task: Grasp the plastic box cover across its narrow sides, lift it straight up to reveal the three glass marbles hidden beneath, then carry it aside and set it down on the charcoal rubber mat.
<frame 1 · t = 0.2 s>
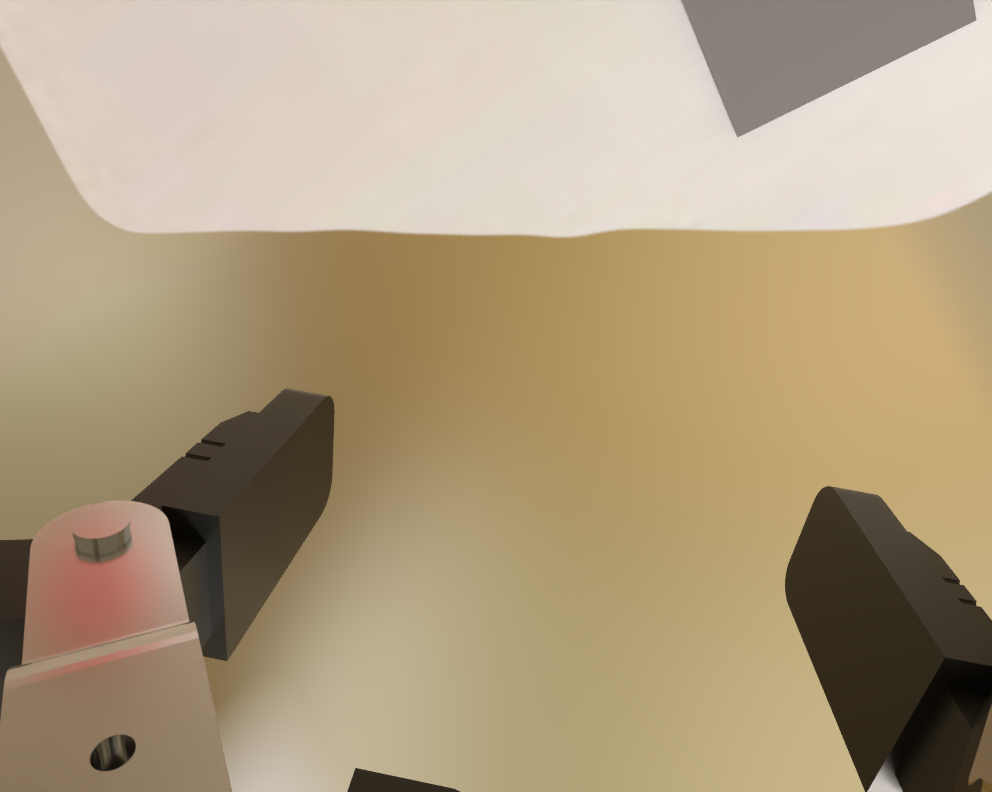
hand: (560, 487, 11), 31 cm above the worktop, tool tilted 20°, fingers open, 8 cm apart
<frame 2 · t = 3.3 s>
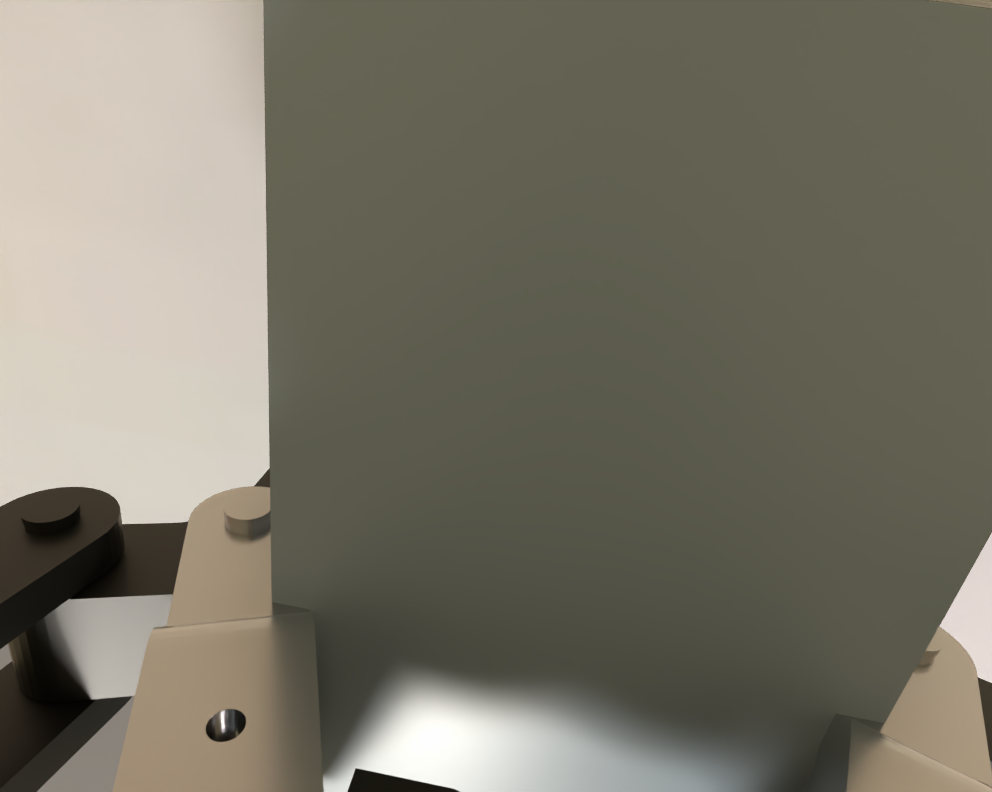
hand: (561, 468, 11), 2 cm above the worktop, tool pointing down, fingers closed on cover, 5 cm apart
cover: (565, 428, 13), on the worktop, touching gripper
mat: (174, 770, 19), on the worktop
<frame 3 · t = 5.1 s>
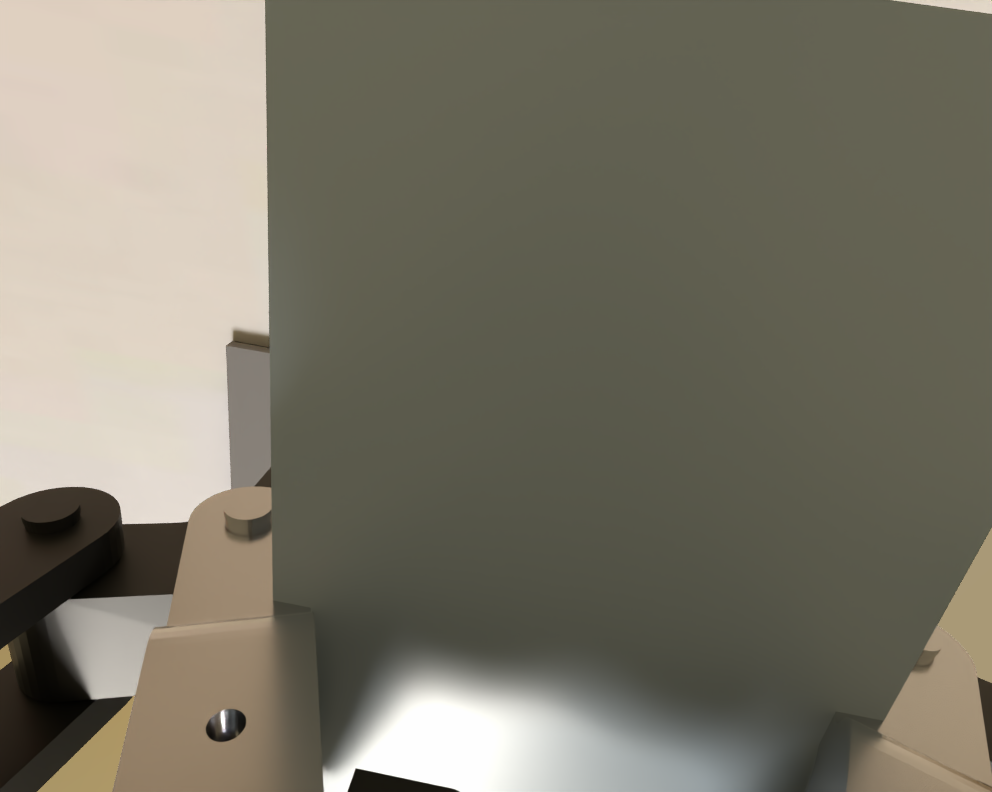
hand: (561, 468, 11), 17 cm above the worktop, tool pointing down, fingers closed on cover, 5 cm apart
cover: (565, 428, 13), point 15 cm above the worktop, touching gripper
mat: (343, 491, 32), on the worktop
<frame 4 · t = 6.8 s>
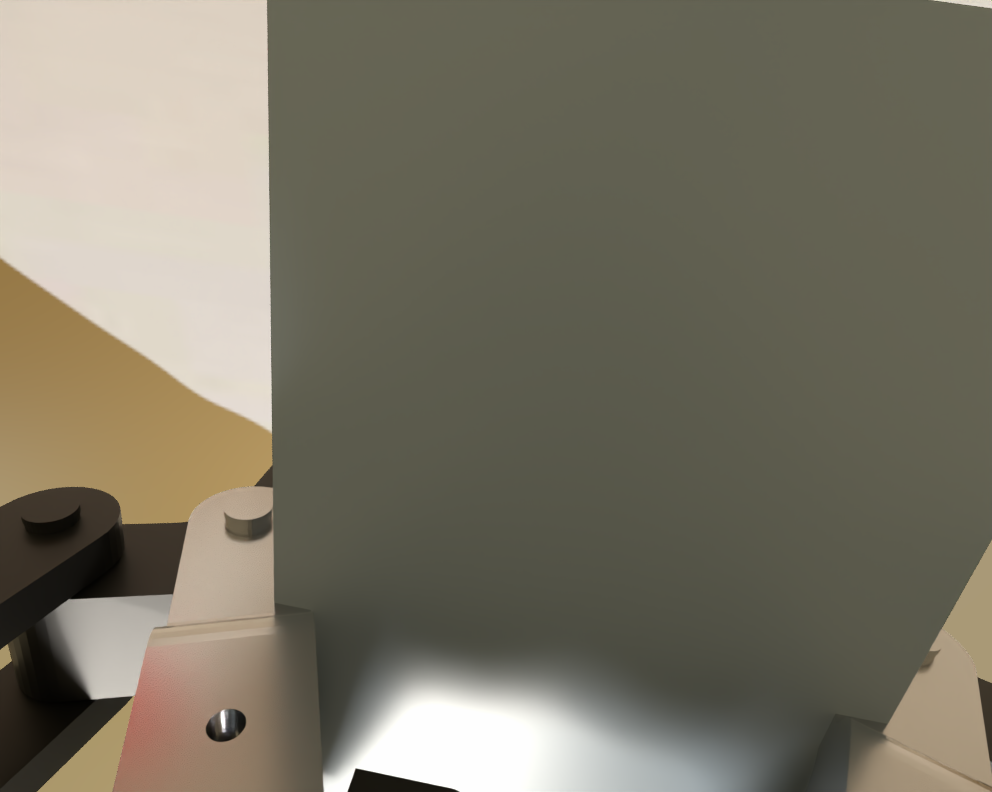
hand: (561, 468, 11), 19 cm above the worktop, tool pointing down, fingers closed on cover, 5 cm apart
cover: (567, 428, 13), point 17 cm above the worktop, touching gripper
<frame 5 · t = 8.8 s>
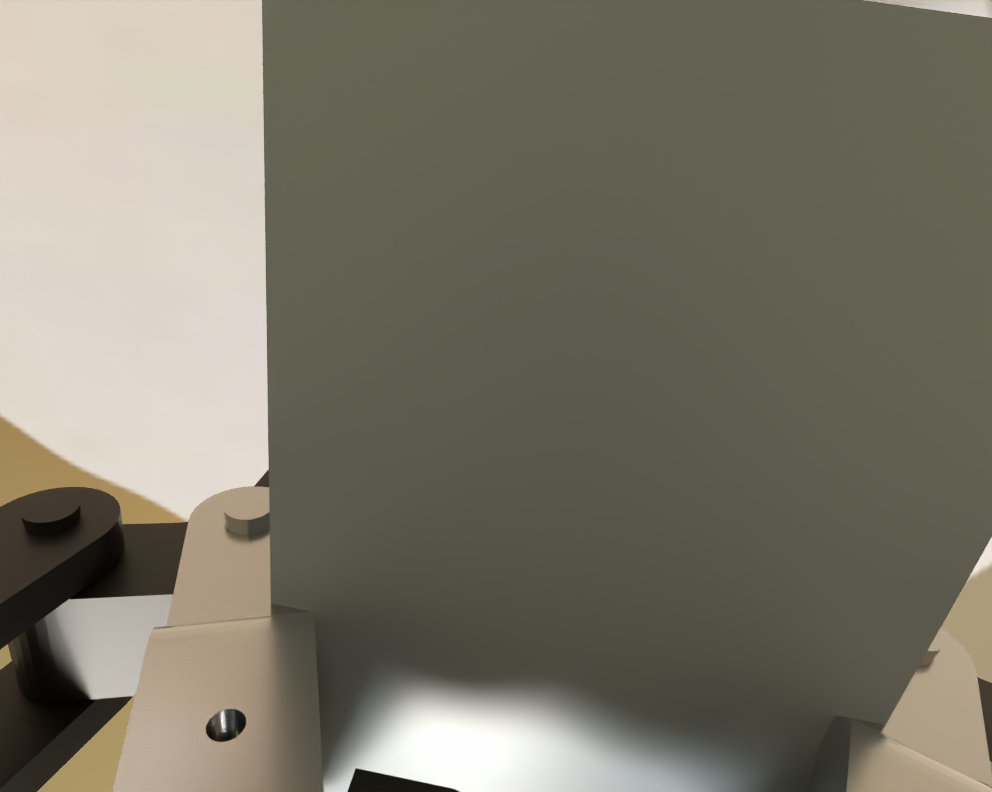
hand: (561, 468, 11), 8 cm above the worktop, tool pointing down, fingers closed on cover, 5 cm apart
cover: (565, 431, 13), point 7 cm above the worktop, touching gripper
when the fingers open (4 cm above the worktop, at t = 10.3 s): cover drops 1 cm, resting on mat.
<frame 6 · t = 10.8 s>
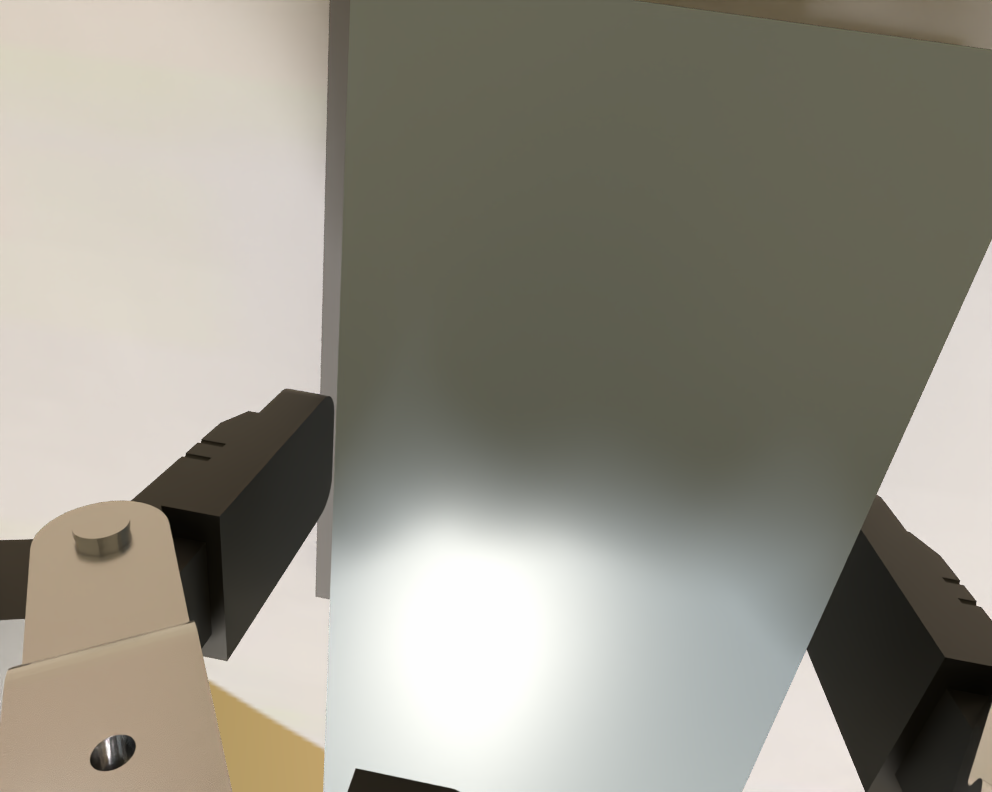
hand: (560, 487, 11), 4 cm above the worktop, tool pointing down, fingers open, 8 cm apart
cover: (568, 396, 14), point 1 cm above the worktop, touching mat
mat: (566, 386, 15), on the worktop
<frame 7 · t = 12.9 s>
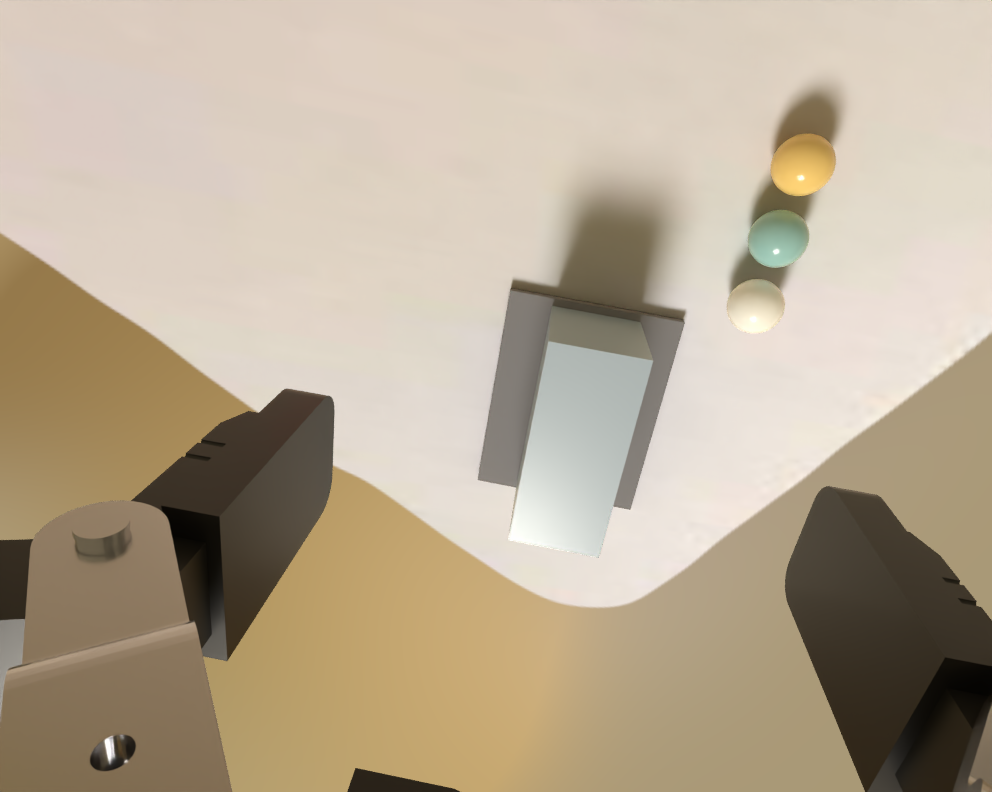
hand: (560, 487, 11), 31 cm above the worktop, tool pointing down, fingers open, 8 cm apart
marble teal: (777, 238, 37), on the worktop
marble amber: (793, 163, 37), on the worktop
cover: (574, 406, 43), point 1 cm above the worktop, touching mat
marble white: (748, 299, 40), on the worktop
mat: (573, 403, 44), on the worktop
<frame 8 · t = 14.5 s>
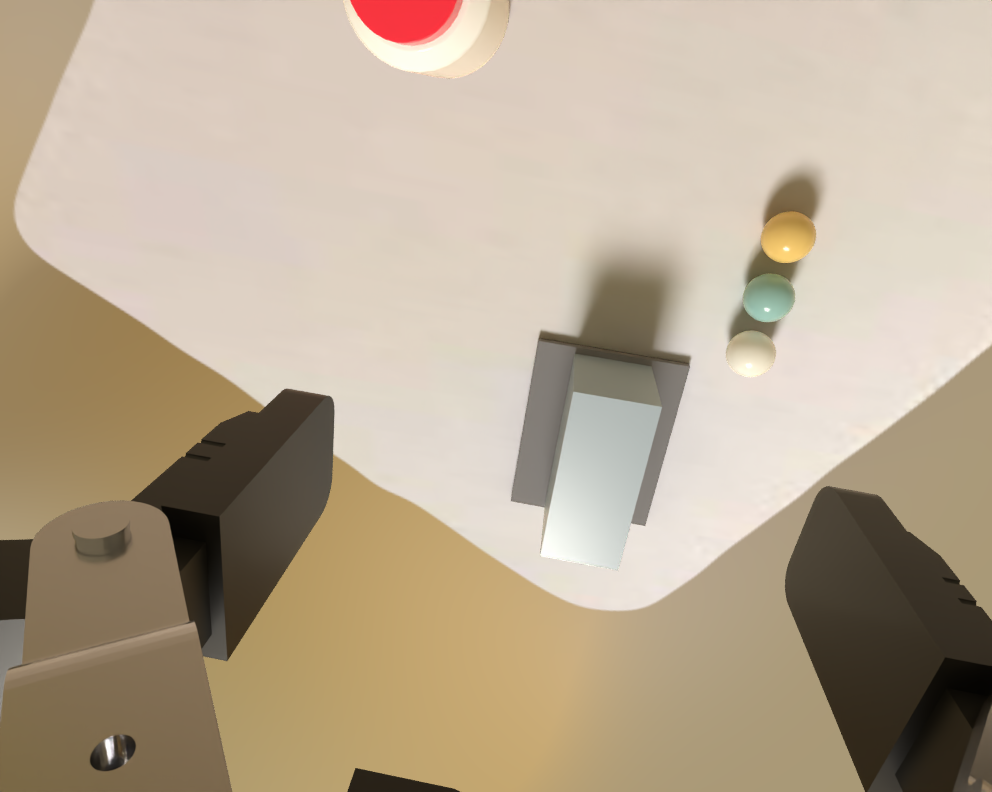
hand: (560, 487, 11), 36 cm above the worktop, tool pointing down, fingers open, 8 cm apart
marble teal: (768, 297, 43), on the worktop
marble amber: (781, 232, 43), on the worktop
pill bottle: (447, 9, 40), on the worktop
cover: (595, 438, 50), point 1 cm above the worktop, touching mat
marble white: (745, 346, 46), on the worktop
mat: (594, 434, 50), on the worktop
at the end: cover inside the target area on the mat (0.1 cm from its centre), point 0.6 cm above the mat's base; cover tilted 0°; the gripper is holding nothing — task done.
